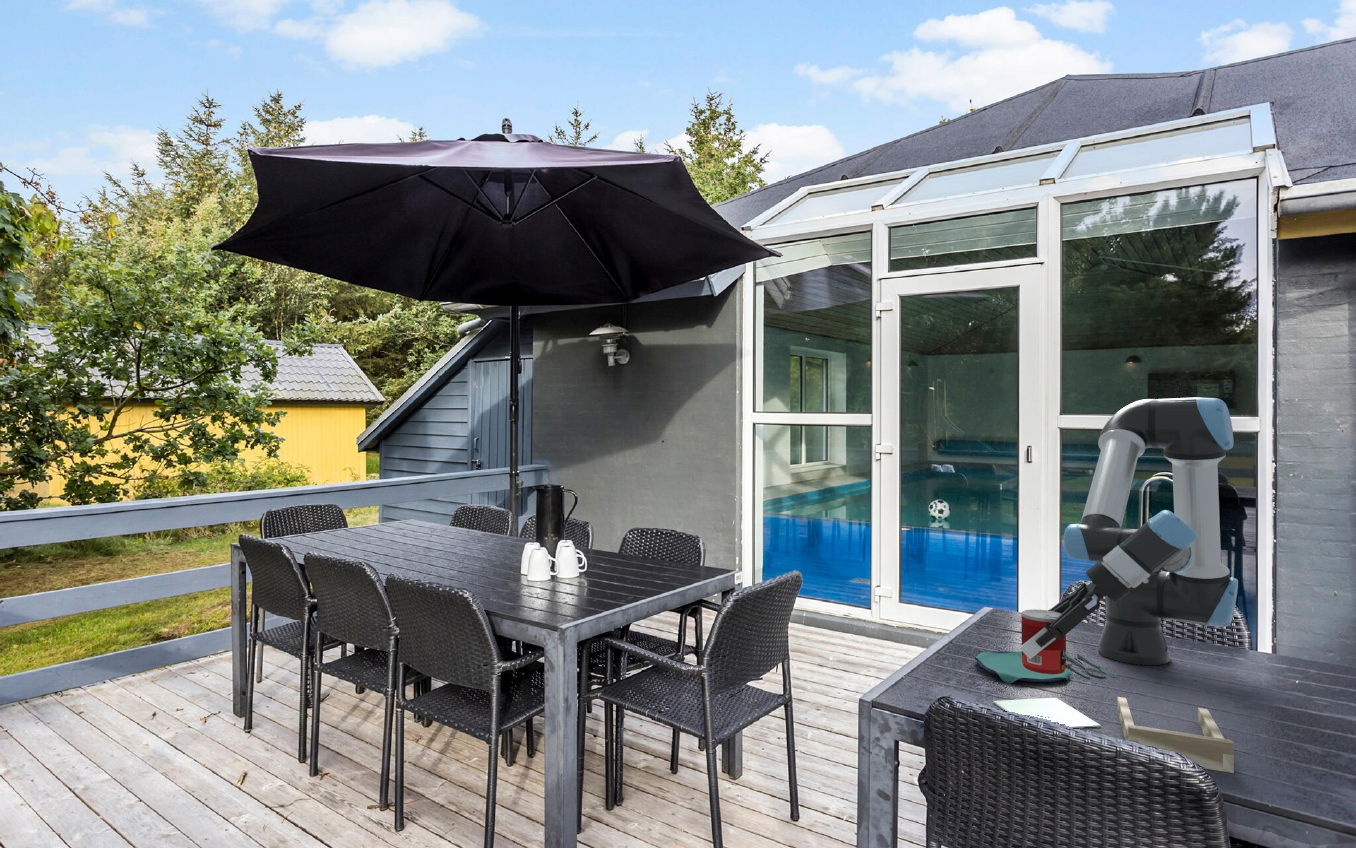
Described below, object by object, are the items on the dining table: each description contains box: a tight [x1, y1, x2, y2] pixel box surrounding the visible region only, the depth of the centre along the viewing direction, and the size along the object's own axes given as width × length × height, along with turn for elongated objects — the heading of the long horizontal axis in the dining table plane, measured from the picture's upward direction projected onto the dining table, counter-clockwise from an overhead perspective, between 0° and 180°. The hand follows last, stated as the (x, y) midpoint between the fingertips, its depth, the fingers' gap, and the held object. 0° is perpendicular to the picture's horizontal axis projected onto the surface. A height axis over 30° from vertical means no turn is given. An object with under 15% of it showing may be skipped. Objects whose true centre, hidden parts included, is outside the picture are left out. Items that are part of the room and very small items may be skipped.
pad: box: [993, 697, 1101, 729], centre depth 146 cm, size 14×14×1 cm
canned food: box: [1020, 608, 1067, 674], centre depth 145 cm, size 8×8×11 cm
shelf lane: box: [1116, 696, 1235, 774], centre depth 134 cm, size 22×15×5 cm
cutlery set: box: [974, 650, 1120, 684], centre depth 171 cm, size 20×30×2 cm, turn 93°
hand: (1024, 647), depth 147 cm, fingers closed on canned food, 8 cm apart
